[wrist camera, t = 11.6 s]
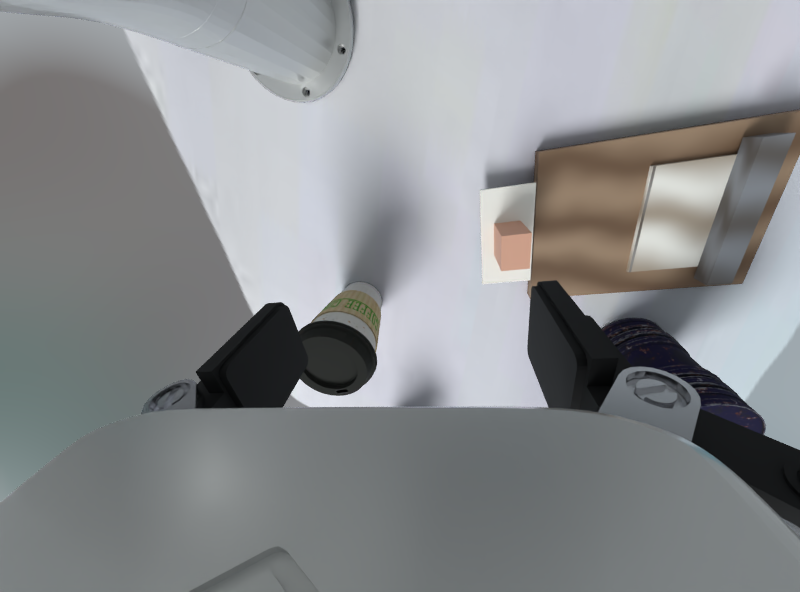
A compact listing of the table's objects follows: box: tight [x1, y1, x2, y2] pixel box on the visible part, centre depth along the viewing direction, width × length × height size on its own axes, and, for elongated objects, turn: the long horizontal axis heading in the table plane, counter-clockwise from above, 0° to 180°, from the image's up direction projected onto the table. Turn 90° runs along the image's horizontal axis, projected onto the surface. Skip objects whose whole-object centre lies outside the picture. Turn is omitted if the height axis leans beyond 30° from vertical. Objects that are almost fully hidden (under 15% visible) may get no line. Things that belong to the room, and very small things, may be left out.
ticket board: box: [527, 110, 800, 299], centre depth 32 cm, size 18×24×4 cm
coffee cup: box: [298, 282, 382, 396], centre depth 38 cm, size 10×10×15 cm
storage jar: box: [602, 318, 765, 435], centre depth 36 cm, size 10×10×15 cm
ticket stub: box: [480, 182, 536, 284], centre depth 33 cm, size 12×6×5 cm, turn 9°
